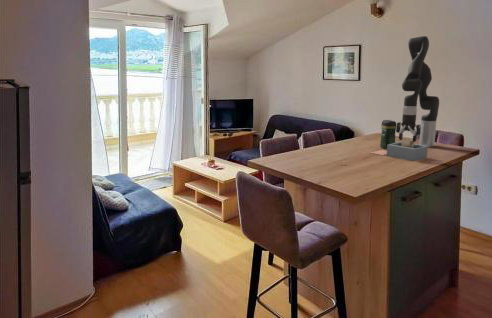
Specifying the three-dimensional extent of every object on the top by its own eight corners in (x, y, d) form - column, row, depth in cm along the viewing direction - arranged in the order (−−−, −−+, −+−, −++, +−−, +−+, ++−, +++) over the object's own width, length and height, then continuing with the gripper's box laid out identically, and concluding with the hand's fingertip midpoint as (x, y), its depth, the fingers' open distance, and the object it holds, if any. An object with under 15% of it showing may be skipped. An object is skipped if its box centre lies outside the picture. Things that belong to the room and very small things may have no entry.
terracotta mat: (381, 150, 264) (381, 149, 264) (393, 152, 258) (393, 152, 257) (370, 153, 257) (370, 152, 257) (382, 155, 250) (382, 154, 250)
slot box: (399, 152, 258) (400, 141, 256) (426, 157, 244) (427, 146, 242) (386, 156, 249) (387, 144, 248) (414, 161, 236) (415, 149, 234)
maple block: (405, 150, 249) (406, 139, 248) (412, 151, 246) (413, 140, 244) (400, 151, 246) (401, 140, 245) (408, 153, 243) (409, 141, 241)
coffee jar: (396, 149, 268) (399, 120, 264) (385, 149, 267) (387, 121, 262) (388, 146, 277) (390, 118, 273) (378, 147, 276) (379, 119, 271)
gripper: (424, 114, 238) (421, 141, 241) (402, 112, 249) (399, 138, 252) (417, 115, 233) (415, 143, 237) (395, 113, 244) (392, 139, 248)
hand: (407, 140), depth 244 cm, fingers open, 8 cm apart
